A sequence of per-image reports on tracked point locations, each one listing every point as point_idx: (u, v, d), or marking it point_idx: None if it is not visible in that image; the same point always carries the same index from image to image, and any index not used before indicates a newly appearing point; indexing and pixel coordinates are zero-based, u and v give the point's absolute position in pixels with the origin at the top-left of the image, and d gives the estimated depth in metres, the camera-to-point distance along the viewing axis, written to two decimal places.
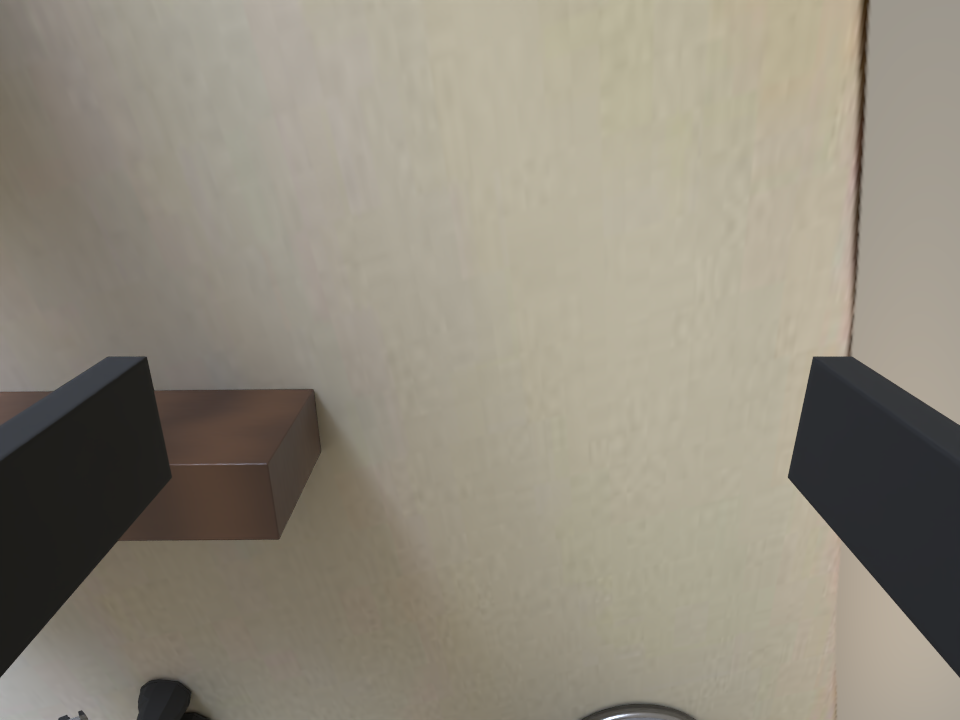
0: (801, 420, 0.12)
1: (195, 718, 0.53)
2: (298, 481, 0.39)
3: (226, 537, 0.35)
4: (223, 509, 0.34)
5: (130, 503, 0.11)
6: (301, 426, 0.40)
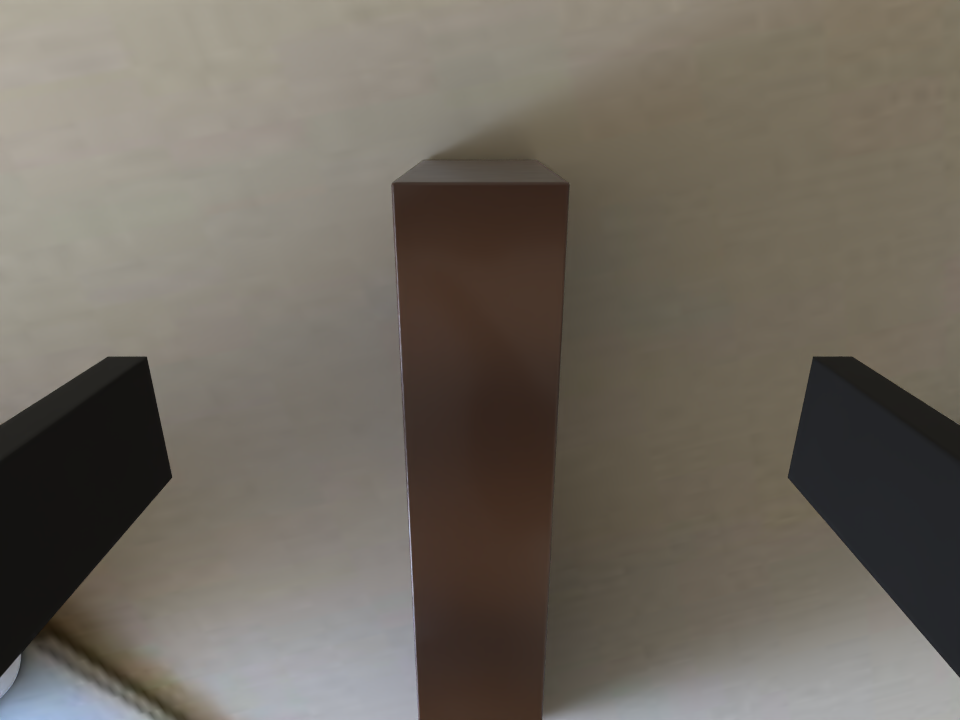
0: (801, 420, 0.12)
1: None
2: (521, 169, 0.21)
3: (557, 286, 0.18)
4: (493, 282, 0.18)
5: (130, 503, 0.11)
6: (440, 165, 0.23)
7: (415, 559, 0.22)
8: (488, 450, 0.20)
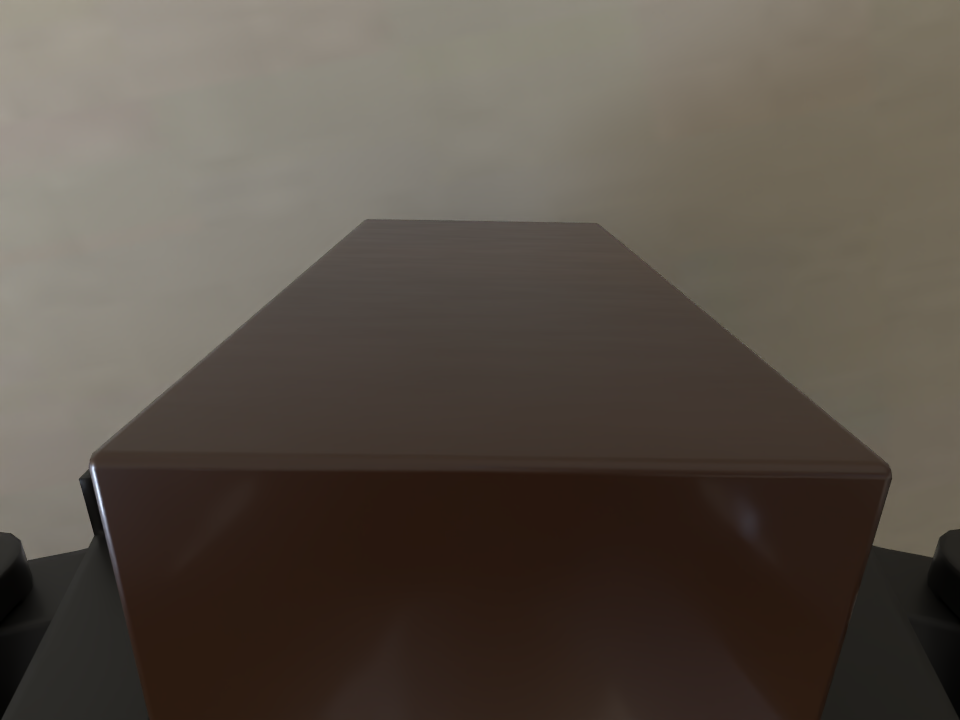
0: None
1: None
2: (596, 286, 0.08)
3: None
4: None
5: None
6: (386, 253, 0.10)
7: None
8: None
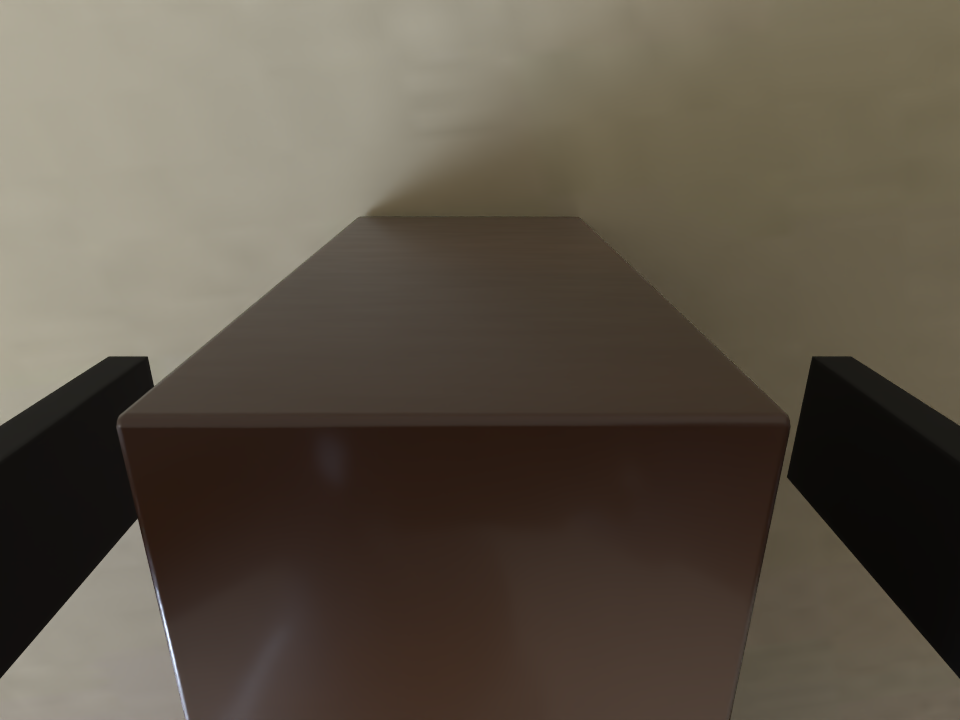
0: (801, 420, 0.12)
1: None
2: (566, 274, 0.09)
3: (712, 715, 0.06)
4: (503, 706, 0.06)
5: (131, 503, 0.11)
6: (376, 248, 0.10)
7: None
8: None
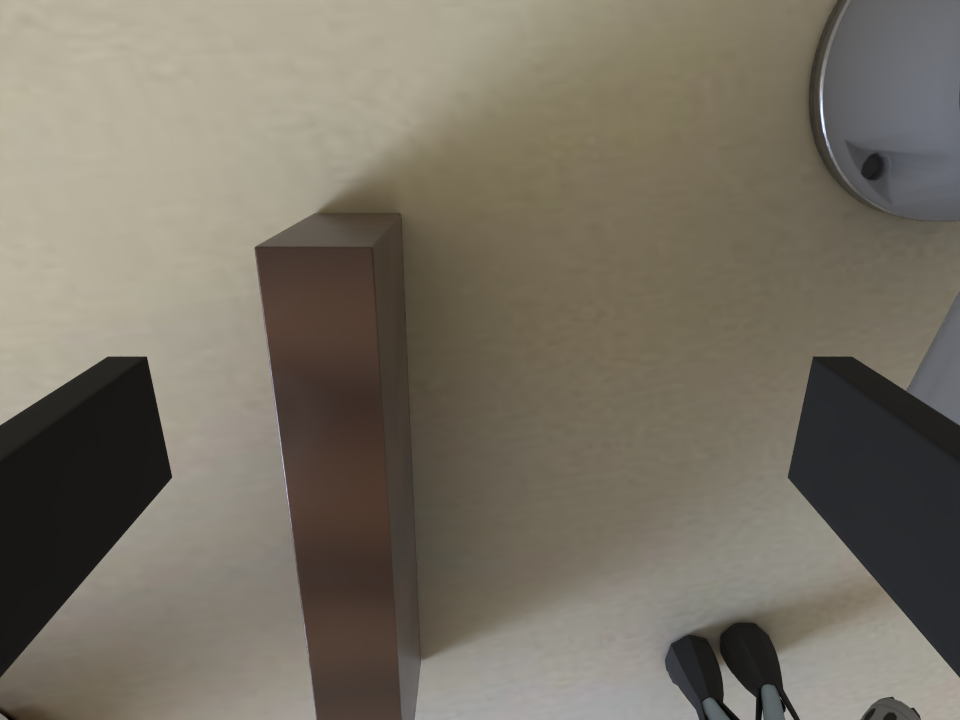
0: (802, 420, 0.12)
1: (725, 638, 0.46)
2: (365, 229, 0.30)
3: (372, 315, 0.27)
4: (328, 312, 0.27)
5: (131, 504, 0.11)
6: (314, 223, 0.32)
7: (291, 507, 0.31)
8: (336, 428, 0.29)
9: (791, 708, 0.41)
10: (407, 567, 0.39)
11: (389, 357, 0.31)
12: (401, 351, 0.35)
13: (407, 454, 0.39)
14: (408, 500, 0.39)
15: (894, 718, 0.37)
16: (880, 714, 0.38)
